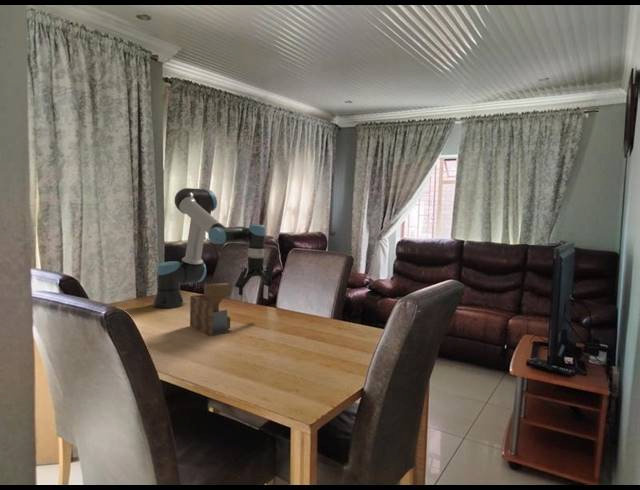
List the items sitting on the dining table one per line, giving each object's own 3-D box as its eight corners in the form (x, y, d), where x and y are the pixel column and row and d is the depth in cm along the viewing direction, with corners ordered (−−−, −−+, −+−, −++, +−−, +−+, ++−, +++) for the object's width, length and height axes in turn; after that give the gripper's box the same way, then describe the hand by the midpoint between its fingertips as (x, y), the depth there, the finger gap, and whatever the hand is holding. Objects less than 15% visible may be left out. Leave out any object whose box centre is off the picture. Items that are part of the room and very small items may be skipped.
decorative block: (227, 324, 193) (227, 282, 191) (230, 328, 188) (231, 284, 186) (203, 327, 188) (203, 283, 186) (206, 330, 183) (206, 286, 181)
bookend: (207, 333, 180) (207, 312, 179) (226, 329, 186) (226, 309, 185) (212, 335, 176) (213, 315, 175) (231, 332, 182) (232, 312, 181)
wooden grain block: (190, 325, 189) (190, 295, 188) (211, 322, 196) (211, 293, 195) (209, 336, 175) (210, 303, 174) (231, 332, 182) (231, 300, 181)
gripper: (237, 259, 187) (235, 304, 189) (281, 256, 204) (279, 298, 206) (229, 256, 193) (227, 301, 195) (272, 254, 209) (270, 295, 212)
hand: (253, 300), depth 201 cm, fingers open, 13 cm apart
